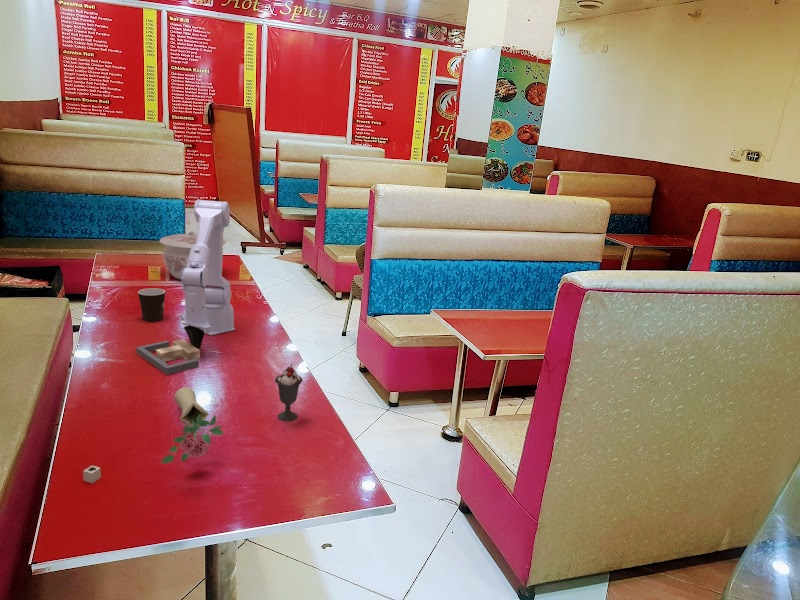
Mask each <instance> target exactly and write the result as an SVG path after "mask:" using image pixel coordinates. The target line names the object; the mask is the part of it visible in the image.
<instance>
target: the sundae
mask: <svg viewBox="0 0 800 600" xmlns="http://www.w3.org/2000/svg"><path fill="white" fill-rule="evenodd" d="M292 366H293V364H292V363H290V366H287V368H286V369H285V370H283V373H282V374H279V375H277V376H276V377H275V379H274V383H276V385H277V387H278V397H279V401H280V402H281V403H282V404H284V407H285V408H284V411H282V412H280V413H278V414H277V419H278V420H280V421H282V422H292V421H295V420H297V419H298V418H299V416H298V414H297V413H296V412H294V411H291V405H292V404H293V403H295V402H296V401H297V398H298V395H299V394H298V393H299V387H300V385H301V383H302V382H303V381H304V380H303V378H302V377H301V376H300V375H299V374H298V372H297V371H296V370H295V369H294V367H292Z"/></svg>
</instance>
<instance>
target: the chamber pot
mask: <svg viewBox="0 0 800 600" xmlns="http://www.w3.org/2000/svg"><path fill="white" fill-rule="evenodd" d="M196 239H197V232H195V231H190V232H188V233H177V234H173V235H172V234H171V235H167V236H163V237H161V238H160V239H159V243H160V244H162V245H164V246H165V247H164V249H163V252H162V255H163V261H164V264H165V267H166V268H167V270H168V271H169V273H170V274H171V276H172V277H173V278H174V279H177V280H179V281H181V274H182V270H183V269H184V268H186V267H187V262H188V258H189V254H190V250H191V247H192V246H193V245H195V244H196ZM226 243H227V240H226V239H225V238H223V246H224V245H225V244H226ZM223 255H224V254H222V260H224V259H223V257H224V256H223Z"/></svg>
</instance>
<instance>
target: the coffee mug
mask: <svg viewBox="0 0 800 600" xmlns="http://www.w3.org/2000/svg"><path fill="white" fill-rule="evenodd" d="M137 294H138V299H139V305H140V309H141V316H142V320H144V321H143V322H145V321H148V322H147V323H157V321H159V322H161V321H162V319H163V320H164V311H165V299H166V290H165V289H163V288H156V287H155V288H153V287H151V288H143V289H140V290H138V291H137Z"/></svg>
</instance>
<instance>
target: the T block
mask: <svg viewBox="0 0 800 600" xmlns="http://www.w3.org/2000/svg"><path fill="white" fill-rule="evenodd" d="M200 351H201V350H200V349H197V348H195V347H194V346H193V345H191V343H190V342H188V341H187V340H186V339H182V338H181V339H177V340H172V341H171V346H169V347H166V348H162V349H157V350H156V351H155V356H156V357H158V358H159V359H161V360H162V361H164V362H165V363H167V362H166V361H169V362H171V361H170V360H173V361H176V360H175V359H178V360H181V359H180V358H182V359H183V358H184V360H185V361H188V360H192V359H197V360H199V361H200V360H201V352H200Z"/></svg>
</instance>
